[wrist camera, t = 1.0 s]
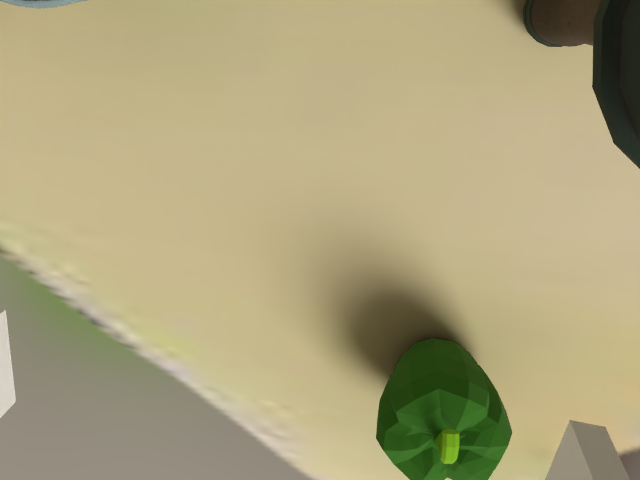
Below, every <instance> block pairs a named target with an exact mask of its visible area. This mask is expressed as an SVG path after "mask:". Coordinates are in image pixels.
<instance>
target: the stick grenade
mask: <svg viewBox="0 0 640 480" xmlns="http://www.w3.org/2000/svg"><path fill="white" fill-rule="evenodd" d="M523 17H524V24H525V26H526V29H527V31H528V33H529V34H530V35H531V36H532V37H533V38H534V39H535V40H536V41H537V42H539V43H541V44H544V45H546V46H549V47H562V46H578V45H582V44H589V45H593V85H592V87H593V90H594V93H595V95H596V98H597V100H598V103H599V106H600V108H601V111H602V113H603V116H604V118H605V121H606V124H607V126H608V129H609V131H610V134H611V137H612V140H613V143H614V144H615V145H616V146H617V147H618V148H619V149H620V150H621V151H622V152H623V153H624V154H625V155H626V156H627V157H628V158H629V159H630V160H631V161H632V162H633V163H634V164H635V165H636V166H637V167H638V168H639V169H640V0H526V3H525V6H524V9H523Z"/></svg>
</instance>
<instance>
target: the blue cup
mask: <svg viewBox="0 0 640 480" xmlns="http://www.w3.org/2000/svg"><path fill="white" fill-rule="evenodd" d="M0 1H2V2H6V3H9V4H13V5H17V6H22V7H30V8H52V7H59V6H63V5H68V4H72V3H76V2H81V1H86V0H0Z"/></svg>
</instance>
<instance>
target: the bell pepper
mask: <svg viewBox="0 0 640 480" xmlns="http://www.w3.org/2000/svg"><path fill="white" fill-rule="evenodd" d="M511 435H512V430H511V427H510V423H509V420H508V416H507V413H506V410H505V408H504V406H503V403H502V401H501V399H500V397H499V395H498V392H497V390H496V389H495V387H494V386H493V384H492V382H491V381H490V379H489V378H488V376H487V375H486V373H485V372H484V371H483V369H482V368H481V367H480V366H479V365H478V364H477V362H476V361H475V359H474V358H473V357H472V356H471V354H470V353H469V352H467V351H466V350H465V349H463V348H462V347H461V346H459V345H458V344H457V343H456V342H452V341H446V340H441V339H435V338H432V339H428V340H424V341H420V342H417V343H414V344H413V345H412V346H411V347H410V348H409V349H408V350H407V351H406V352H405V353H404V354H403V355H402V356H401V357H400V359H399V361H398V363H397V365H396V367H395V369H394V372H393V374H392V375H391V377H390V379H389V381H388V383H387V384H386V387H385V389H384V392H383V394H382V396H381V399H380V403H379V411H378V420H377V433H376V439H377V441H378V442H379V444H380V446H381V447H382V449H383V451H384V452H385V453H386V454H387V456H388V457H389V458H390V460H391V461H392V462H393V464H394V465H395V466H396V467H397V468H398V469H399V470H401V471H402V472H403V473H404V474H405V475H406V476H407V477H408V478H409V479H410V480H445V479H446V478H447V477H448V478H450V479H452V480H488V479H489V477H490V476H491V474H492V473H493V471H494V469H495V468H496V466H497V465H498V463H499V462H500V460H501V458H502V456H503V454H504V452H505V450H506V448H507V446H508V444H509V441H510V438H511Z"/></svg>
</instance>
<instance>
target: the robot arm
mask: <svg viewBox="0 0 640 480" xmlns="http://www.w3.org/2000/svg"><path fill="white" fill-rule="evenodd" d="M15 402H16V399H15V391H14V383H13V372H12V363H11V355H10V345H9V336H8V328H7V318H6V310H4V309H0V418H1V417H2V415H4V413H5V412H6V411H7V410H8V409H9V408H10V407H11V406H12V405H13V404H14V403H15ZM545 480H630V479H629V477H628V475H627V473H626V471H625V469H624V466H623V464H622V462H621V460H620V458H619V456H618V454H617V451H616V449H615V447H614V445H613V443H612V441H611V438H610V436H609V434H608V432H607V430H606V428H605V427H603V426H598V425H592V424H587V423H582V422H577V421H572V420H570V421H569V424H568V426H567V428H566V431H565V433H564V436H563V438H562V440H561V443H560V445H559V448H558V450H557V452H556V455H555V457H554V460H553V462H552V464H551V467H550V469H549V472H548V474H547V476H546V479H545Z"/></svg>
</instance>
